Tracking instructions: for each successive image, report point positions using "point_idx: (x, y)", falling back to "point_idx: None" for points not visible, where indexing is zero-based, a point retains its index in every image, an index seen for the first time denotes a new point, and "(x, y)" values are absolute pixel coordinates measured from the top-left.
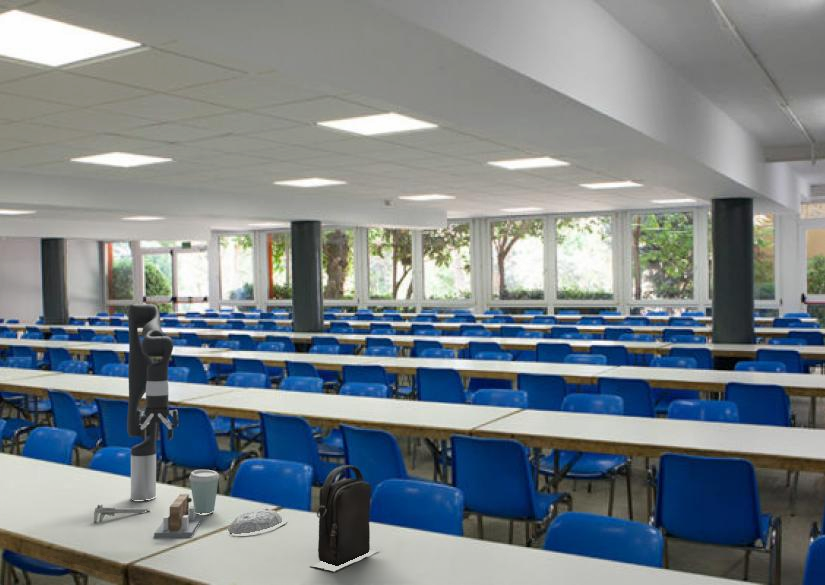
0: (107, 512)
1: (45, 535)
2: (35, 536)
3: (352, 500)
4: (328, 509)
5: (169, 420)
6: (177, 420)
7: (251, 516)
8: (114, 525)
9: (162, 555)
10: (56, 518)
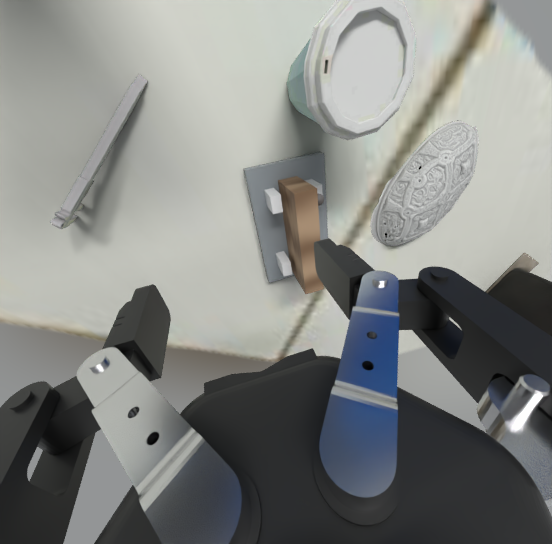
0: (81, 198)
1: (51, 312)
2: (36, 321)
3: None
4: None
5: (398, 317)
6: (486, 312)
7: (432, 221)
8: (142, 228)
9: (308, 331)
10: None
